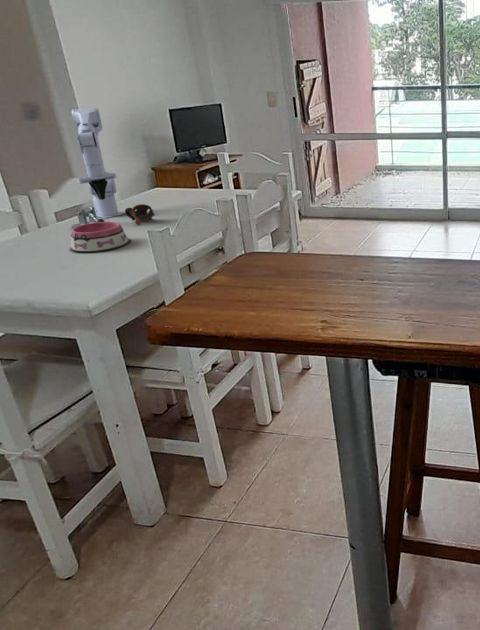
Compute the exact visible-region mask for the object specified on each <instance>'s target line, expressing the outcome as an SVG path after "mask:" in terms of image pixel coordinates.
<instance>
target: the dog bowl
mask: <svg viewBox="0 0 480 630" xmlns="http://www.w3.org/2000/svg"><path fill="white" fill-rule="evenodd" d="M129 243H130V240H129V238H128V236H127V235H126V233H125V230H124V228H123V226H122V225H121V224H120V223H119V222H116V221H105V222H96V223H89V224H84V225H80V226H77V227H75V228H72V229H71V234H70V250H71V251H73V252H76V253H83V254H84V253H87V254H88V253H101V252H107V251H111V250H115V249H119V248H123V247H124V246H126V245H128V244H129Z"/></svg>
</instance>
